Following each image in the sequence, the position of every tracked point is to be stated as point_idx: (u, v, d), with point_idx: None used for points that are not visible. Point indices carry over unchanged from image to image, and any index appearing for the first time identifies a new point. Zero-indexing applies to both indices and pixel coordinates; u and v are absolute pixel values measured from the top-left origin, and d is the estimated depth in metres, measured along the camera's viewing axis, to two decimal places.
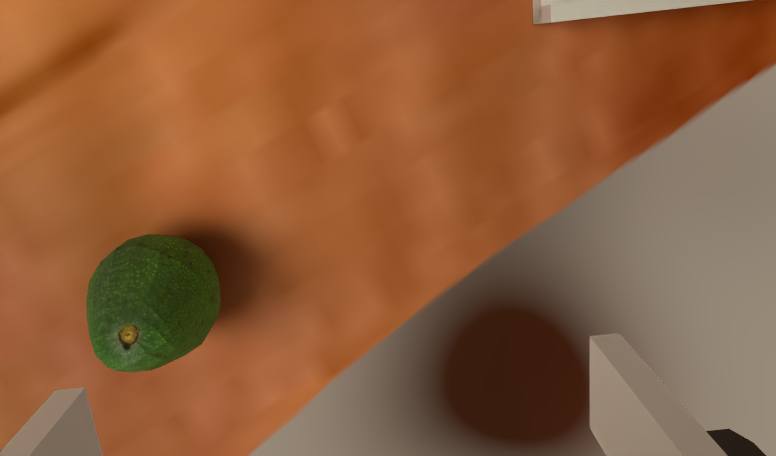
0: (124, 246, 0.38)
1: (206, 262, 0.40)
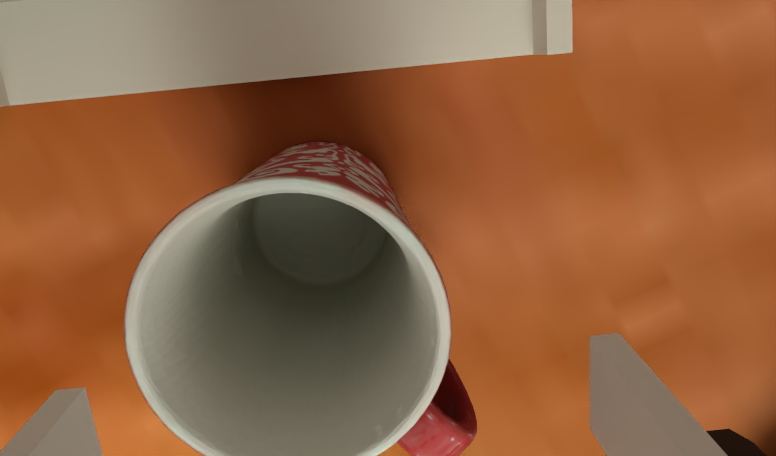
0: None
1: None
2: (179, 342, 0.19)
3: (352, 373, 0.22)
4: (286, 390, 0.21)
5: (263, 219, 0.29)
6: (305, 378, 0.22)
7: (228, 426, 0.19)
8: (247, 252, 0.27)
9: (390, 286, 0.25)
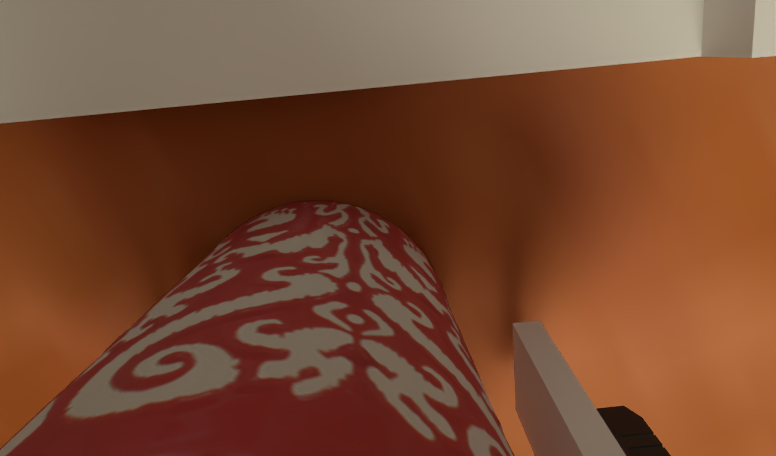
0: None
1: None
2: None
3: None
4: None
5: None
6: None
7: None
8: None
9: None
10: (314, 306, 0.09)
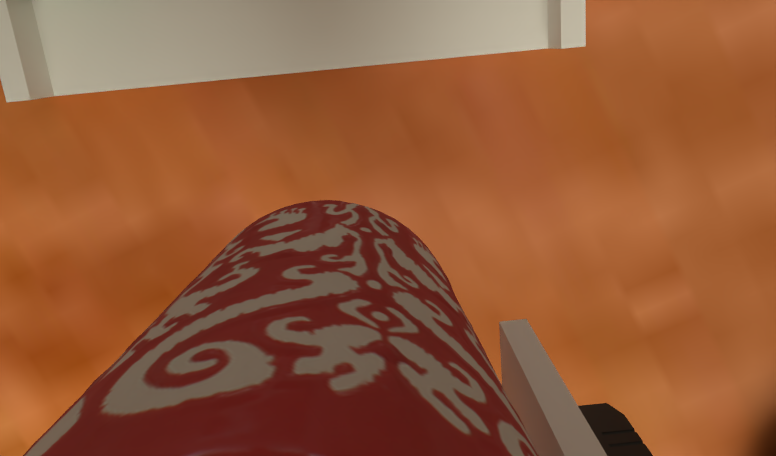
0: None
1: None
2: None
3: None
4: None
5: None
6: None
7: None
8: None
9: None
10: (339, 303, 0.09)
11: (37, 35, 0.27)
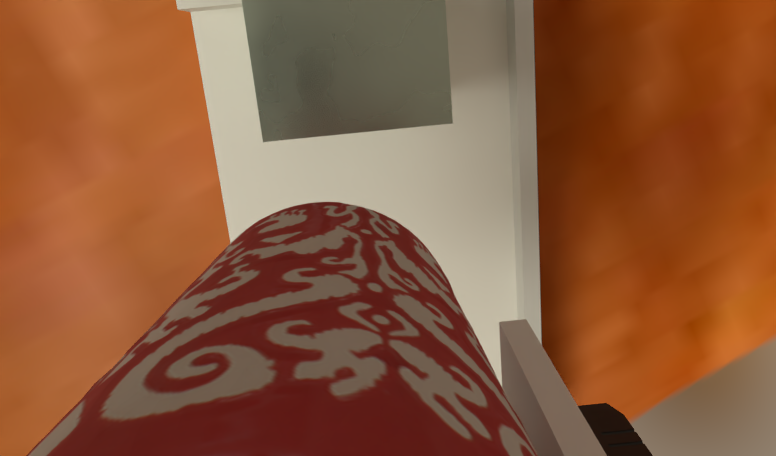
0: None
1: None
2: None
3: None
4: None
5: None
6: None
7: None
8: None
9: None
10: (339, 307, 0.09)
11: None
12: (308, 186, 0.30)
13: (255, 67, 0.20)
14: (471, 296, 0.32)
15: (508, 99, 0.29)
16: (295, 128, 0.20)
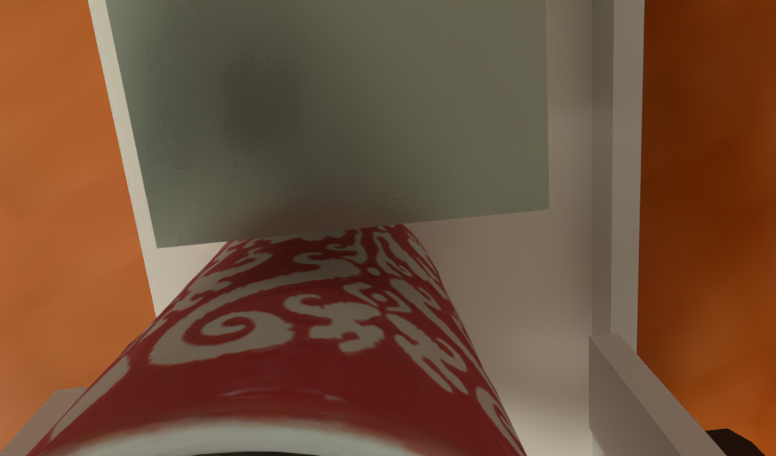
0: None
1: None
2: None
3: None
4: None
5: None
6: None
7: None
8: None
9: None
10: (344, 285, 0.11)
11: None
12: None
13: (133, 96, 0.09)
14: (524, 421, 0.21)
15: (590, 131, 0.19)
16: (223, 221, 0.10)
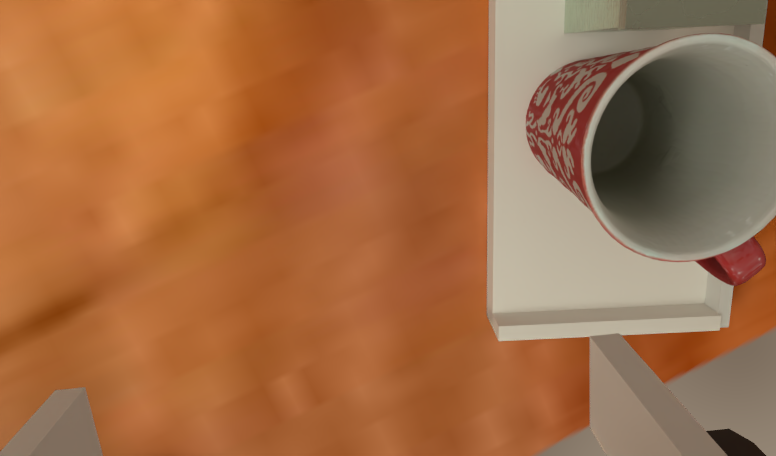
0: None
1: None
2: None
3: (672, 212, 0.29)
4: (627, 218, 0.29)
5: None
6: (632, 215, 0.29)
7: (618, 222, 0.26)
8: None
9: (674, 165, 0.32)
10: None
11: None
12: None
13: None
14: None
15: None
16: (650, 20, 0.27)
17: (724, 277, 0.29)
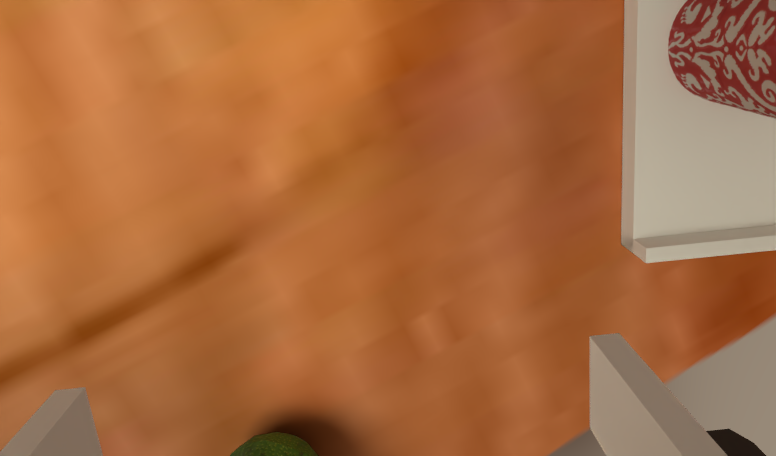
0: None
1: None
2: None
3: None
4: None
5: None
6: None
7: None
8: None
9: None
10: None
11: None
12: None
13: None
14: None
15: None
16: None
17: None
